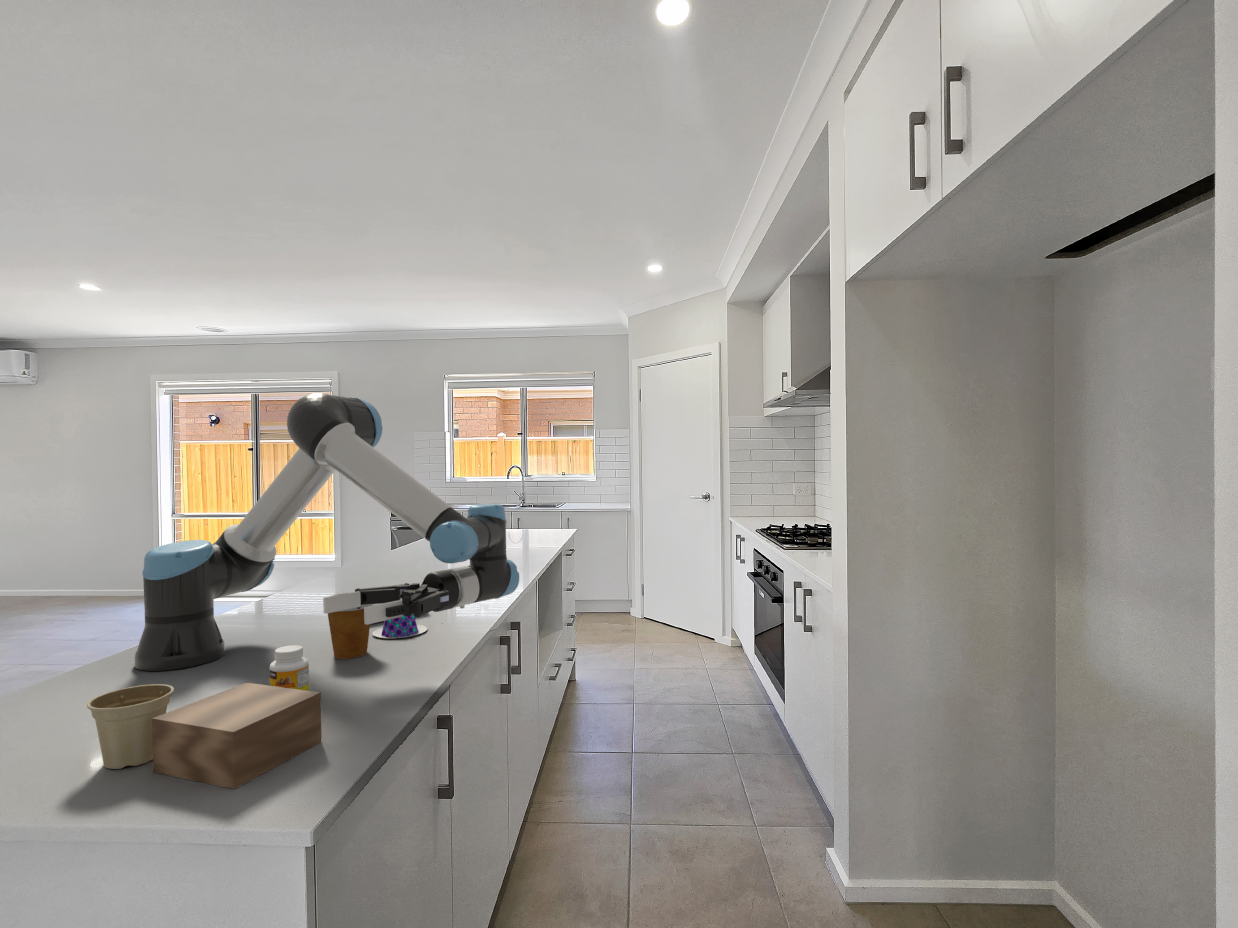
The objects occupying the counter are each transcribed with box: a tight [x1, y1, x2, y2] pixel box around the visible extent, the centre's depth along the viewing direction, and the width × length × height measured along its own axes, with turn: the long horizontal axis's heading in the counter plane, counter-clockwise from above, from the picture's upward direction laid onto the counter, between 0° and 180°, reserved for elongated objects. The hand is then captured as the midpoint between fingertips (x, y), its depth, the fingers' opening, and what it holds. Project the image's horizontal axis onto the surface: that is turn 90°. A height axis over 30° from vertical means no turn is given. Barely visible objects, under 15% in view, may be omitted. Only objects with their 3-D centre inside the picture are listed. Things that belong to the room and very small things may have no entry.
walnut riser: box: [152, 682, 323, 790], centre depth 89 cm, size 14×14×7 cm
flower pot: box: [86, 683, 175, 770], centre depth 89 cm, size 9×9×9 cm
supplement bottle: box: [268, 644, 310, 691], centre depth 104 cm, size 6×6×10 cm
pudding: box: [372, 614, 428, 639], centre depth 151 cm, size 12×12×5 cm
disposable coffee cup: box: [327, 591, 373, 660], centre depth 135 cm, size 10×10×12 cm
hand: (343, 610), depth 111 cm, fingers open, 13 cm apart
